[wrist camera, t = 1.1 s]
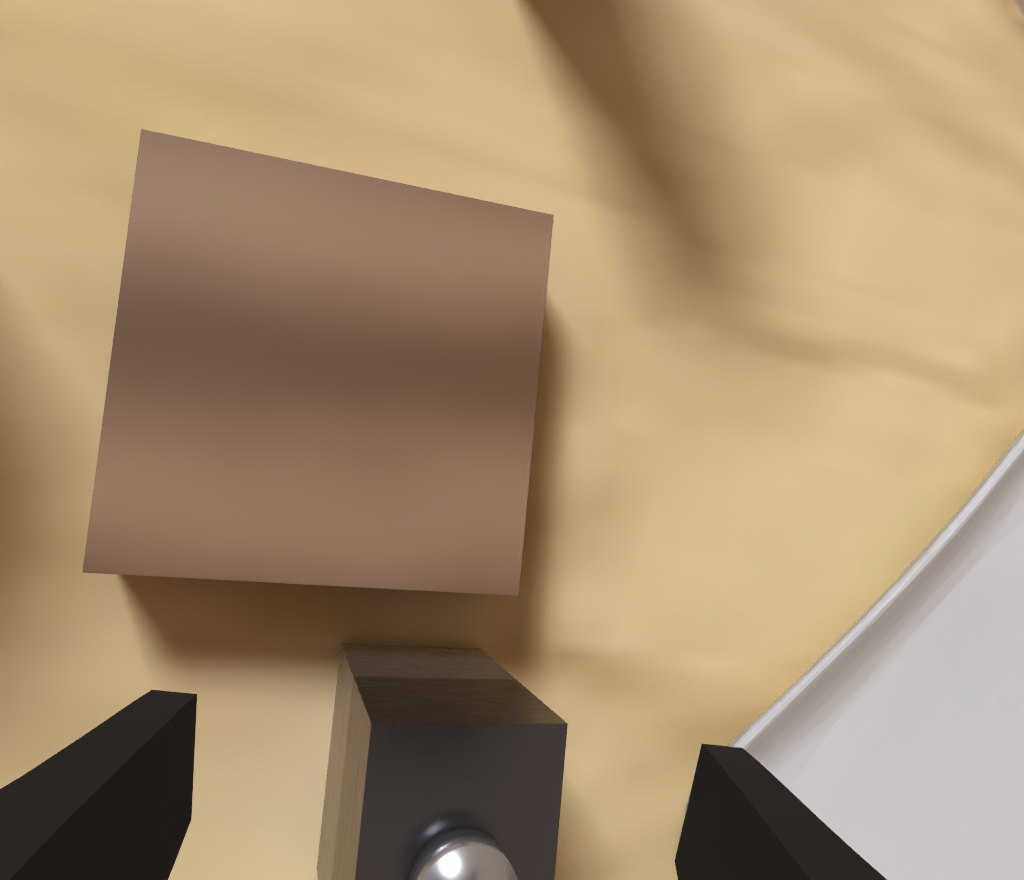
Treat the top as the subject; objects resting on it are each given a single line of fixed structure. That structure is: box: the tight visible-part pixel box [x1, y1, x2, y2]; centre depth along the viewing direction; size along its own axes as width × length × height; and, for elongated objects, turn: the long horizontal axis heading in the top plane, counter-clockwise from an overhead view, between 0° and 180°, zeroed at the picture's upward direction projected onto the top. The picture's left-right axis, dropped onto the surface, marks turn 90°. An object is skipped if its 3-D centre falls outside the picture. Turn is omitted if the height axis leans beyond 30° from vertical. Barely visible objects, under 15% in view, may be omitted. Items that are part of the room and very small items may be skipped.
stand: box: [83, 129, 554, 596], centre depth 20 cm, size 10×10×3 cm
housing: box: [317, 644, 567, 880], centre depth 18 cm, size 6×4×8 cm, turn 175°
